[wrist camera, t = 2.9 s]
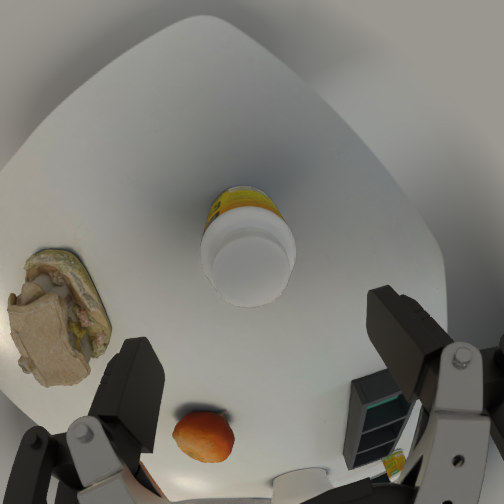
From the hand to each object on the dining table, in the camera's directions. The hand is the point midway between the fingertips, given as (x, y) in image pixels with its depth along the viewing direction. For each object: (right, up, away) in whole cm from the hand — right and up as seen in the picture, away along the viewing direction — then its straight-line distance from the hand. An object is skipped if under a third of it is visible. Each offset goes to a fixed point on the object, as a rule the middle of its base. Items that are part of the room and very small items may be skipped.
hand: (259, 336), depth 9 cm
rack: (+20, -25, +28) cm, 42 cm away
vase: (+10, -47, +37) cm, 61 cm away
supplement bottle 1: (-1, +6, +14) cm, 15 cm away
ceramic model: (-21, -3, +16) cm, 26 cm away
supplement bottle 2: (+34, -46, +38) cm, 69 cm away
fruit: (-7, -20, +24) cm, 32 cm away
